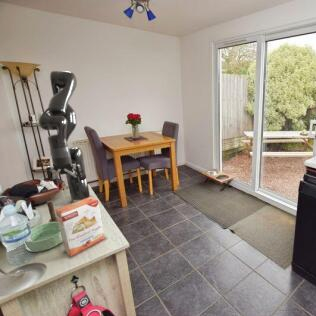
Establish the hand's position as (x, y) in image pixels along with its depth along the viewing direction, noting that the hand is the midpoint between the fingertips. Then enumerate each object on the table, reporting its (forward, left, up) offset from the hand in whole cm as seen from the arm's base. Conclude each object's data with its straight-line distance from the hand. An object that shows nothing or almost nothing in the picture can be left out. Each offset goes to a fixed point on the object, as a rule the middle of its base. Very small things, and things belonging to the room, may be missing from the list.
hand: (67, 184), depth 116 cm
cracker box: (+31, +14, -17) cm, 38 cm away
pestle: (+12, -4, -17) cm, 21 cm away
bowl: (+24, -3, -17) cm, 30 cm away
